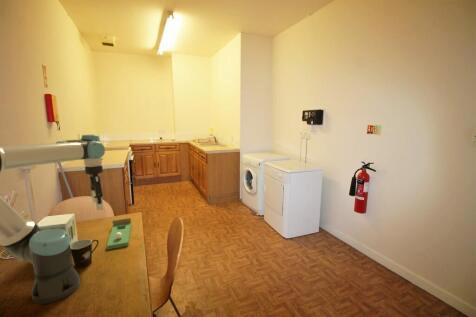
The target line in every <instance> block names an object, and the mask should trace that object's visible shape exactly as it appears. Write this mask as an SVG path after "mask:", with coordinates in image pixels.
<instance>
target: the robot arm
mask: <svg viewBox="0 0 476 317" xmlns="http://www.w3.org/2000/svg"><path fill="white" fill-rule="evenodd" d="M105 153H106V147H105V146H104V144H103V143H102V142H101V138H100V136H99V135H98V134H94V133H93V134H92V133H91V134H82V135H81V139H69V140H68V139H67V140H58V141H55V142H54V143H53V142H52V143H40V144H39V143H38V144H20V145H18V144H17V145H5V146H4V145H2V146H0V173H2V171H4V170H5V171H6V170H12V169H13V170H14V169H19V168H21V169H22V168H29V167H34V166H35V167H36V166H42V165H52V164H57V163H65V162H73V161H81V160H83V164H84V170H85V171H84V172H85V174H86V175H89V180H90V191H91V201H92V204H94V203H95V204H96V211H101V210H104V204H103V196H104V194H103V190H102V185H101V177H100V176H99V174H102V173H103V172H104V169H103V168H104V167H103V165H102V164H103V160H104V158H103V156H104V155H105ZM37 224H38V223H36V222H35V221H34V220H31V219H29V220H26V219H25V218H24V217H23V216H22V215H21V214H20V213H19V212H17V210H16V209H15V208H13V207H12V206H11V204H9V203H8V202H7V201H6V200H5V199H4V198H3V196H1V195H0V246H1V247H3V249H4V252H6V253H7V254H8V255H9V256H10V257H12V258H15V259H19V260H22V261H24V262H27V263H29V264H32V267H33V273H34V281H33V286H32V289H31V298H32V301H33V302H34V303H35V304H39V305H40V304H41V305H42V304H43V305H45V304H50V303H54V302H58V301H60V300H62V299H64V298H66V297H68V296H70V295H71V294H72V293H74V292H75V291H76V290H77V289H78V288H79V286H80V285H81V278H80V277H81V276H80V275H79V273H78V271H77V269H76V267H75V266H74V265H73V257H72V254H71V249H70V239H69V236H68V233H67V232H66V231H65V230H62V229H47V230H42V229H41V228H40V227H39V226H38V225H37Z"/></svg>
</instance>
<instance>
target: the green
mask: <svg viewBox="0 0 476 317" xmlns="http://www.w3.org/2000/svg"><path fill="white" fill-rule="evenodd" d="M111 228H112V229H111V231H110V234H109V236H108V237H109V238H108V241H107V245H106V249H107V250H112V249H117V248H125V247H129V244H130V237H131V230H132V218H131V217H127V218H120V219H112V227H111ZM118 232H120V233H122V237H121V238H120V239H116V238H115V234H116V233H118Z"/></svg>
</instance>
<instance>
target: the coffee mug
mask: <svg viewBox="0 0 476 317" xmlns="http://www.w3.org/2000/svg"><path fill="white" fill-rule="evenodd" d="M94 242H97V243H96V244H95V247H94V248H93V243H94ZM98 246H99V240H97V239H94V240H92V239H89V238H86V239H80V240H79V239H78V241H76V242H74V243H72V244H71V245H70V249H71V256H72V262H73V263H74V268H75V269H76V268H77V269H82V268H86V267H88V266H89V265H91V264H92V262H93V261H92V258H93V256H92V255H93V252H95V250H96V249H97V247H98Z"/></svg>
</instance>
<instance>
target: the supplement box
mask: <svg viewBox="0 0 476 317" xmlns="http://www.w3.org/2000/svg"><path fill="white" fill-rule="evenodd" d="M36 224H37V225H38V226H39V227H40V228H41V229H42V230H47V229H62V230H65V231H66V232H67V233H68V236H69V239H70V245H71V244H72V243H74V242H76V241H79V239H78V237H79V236H78V231H77V223H76V215H75V213H65V214H57V215H50V216H49V215H48V216H47V215H46V216H45V217H44V218H42V219H41V220H40V221H39V222H38V223H36Z"/></svg>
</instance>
